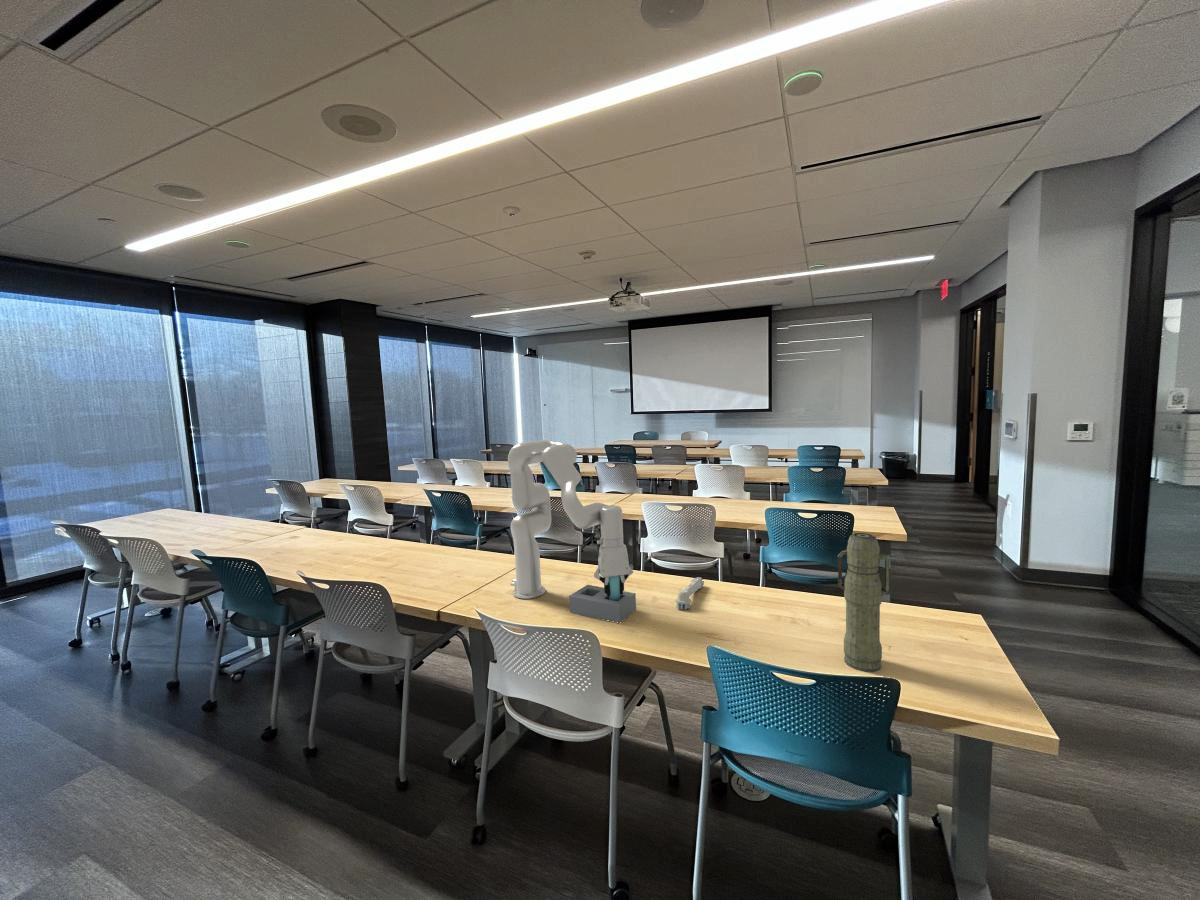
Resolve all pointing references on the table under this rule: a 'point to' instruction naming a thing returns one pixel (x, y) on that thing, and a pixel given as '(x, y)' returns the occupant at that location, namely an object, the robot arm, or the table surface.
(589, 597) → the hole block
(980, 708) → the table surface
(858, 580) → the thermos
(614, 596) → the teal dowel
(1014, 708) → the table surface
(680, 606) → the grey handheld tool
